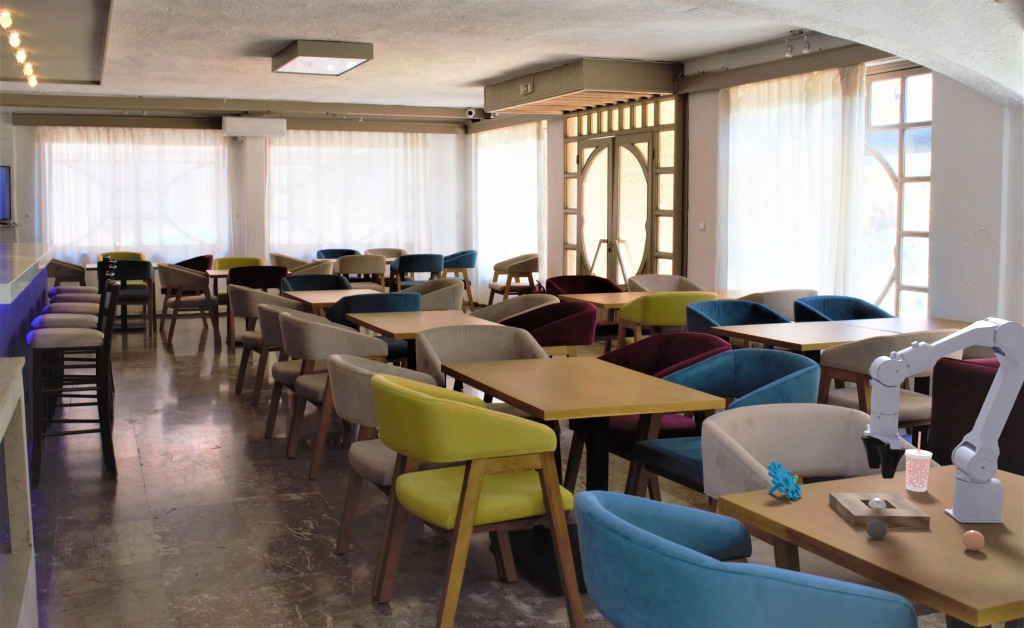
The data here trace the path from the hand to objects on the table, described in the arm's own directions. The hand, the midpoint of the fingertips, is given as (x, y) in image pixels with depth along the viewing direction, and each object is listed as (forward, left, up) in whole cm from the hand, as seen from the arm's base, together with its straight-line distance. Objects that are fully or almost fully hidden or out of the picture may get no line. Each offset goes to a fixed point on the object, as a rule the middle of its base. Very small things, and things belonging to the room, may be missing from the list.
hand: (880, 473), depth 215 cm
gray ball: (+6, +15, -7) cm, 18 cm away
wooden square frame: (0, 0, -9) cm, 9 cm away
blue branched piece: (+17, -13, -10) cm, 24 cm away
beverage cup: (-17, -20, -10) cm, 27 cm away
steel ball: (+1, +1, -7) cm, 8 cm away
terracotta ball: (-11, +21, -7) cm, 25 cm away
